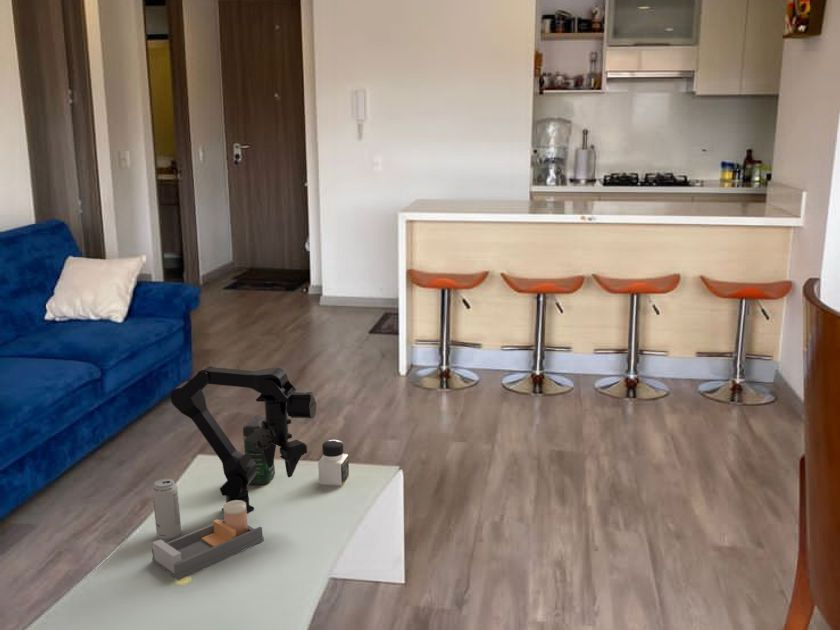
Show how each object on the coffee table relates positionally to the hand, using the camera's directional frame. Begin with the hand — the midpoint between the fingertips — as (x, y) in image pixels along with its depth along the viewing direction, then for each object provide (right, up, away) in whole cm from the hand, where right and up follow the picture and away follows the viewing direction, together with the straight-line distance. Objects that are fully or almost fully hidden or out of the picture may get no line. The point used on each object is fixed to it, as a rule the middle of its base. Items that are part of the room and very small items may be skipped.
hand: (279, 471), depth 212 cm
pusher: (-13, -15, -14) cm, 24 cm away
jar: (-9, -14, -10) cm, 20 cm away
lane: (-15, -16, -16) cm, 27 cm away
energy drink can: (-27, -15, -8) cm, 32 cm away
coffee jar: (-10, -7, +24) cm, 27 cm away
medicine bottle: (+12, -7, +23) cm, 26 cm away
